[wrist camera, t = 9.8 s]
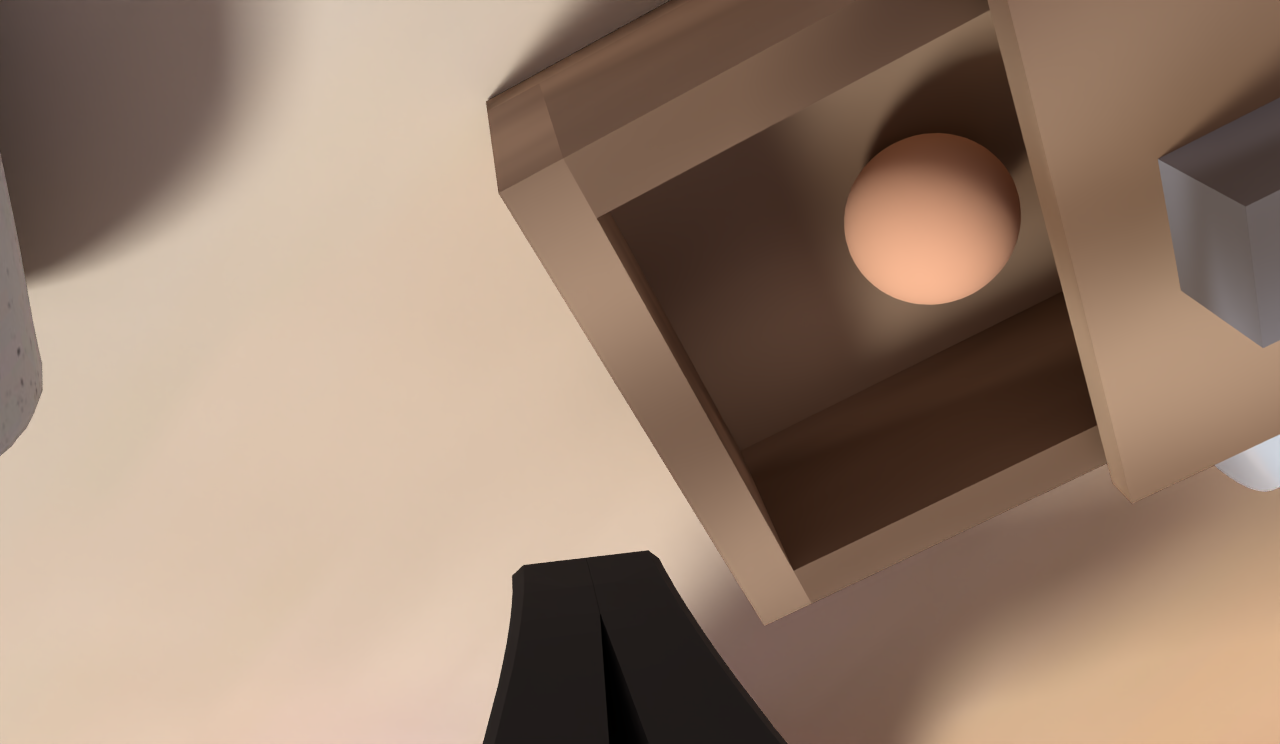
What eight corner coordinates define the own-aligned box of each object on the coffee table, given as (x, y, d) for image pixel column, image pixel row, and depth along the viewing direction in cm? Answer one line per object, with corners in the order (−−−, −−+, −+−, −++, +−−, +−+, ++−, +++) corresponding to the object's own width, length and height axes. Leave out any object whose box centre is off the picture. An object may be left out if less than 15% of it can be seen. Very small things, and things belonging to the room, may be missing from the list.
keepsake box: (1120, 283, 21) (1261, 389, 18) (710, 485, 22) (764, 626, 19) (1017, -191, 16) (1188, -178, 12) (485, 101, 17) (499, 193, 13)
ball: (988, 217, 19) (1071, 283, 17) (850, 287, 20) (911, 363, 17) (948, 82, 18) (1033, 133, 15) (798, 160, 18) (857, 223, 16)
